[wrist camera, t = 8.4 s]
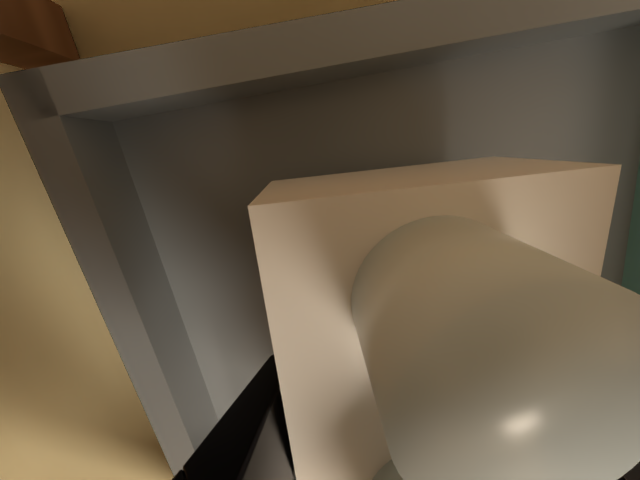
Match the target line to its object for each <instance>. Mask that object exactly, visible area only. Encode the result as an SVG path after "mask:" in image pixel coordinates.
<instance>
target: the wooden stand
mask: <svg viewBox="0 0 640 480" xmlns="http://www.w3.org/2000/svg"><path fill="white" fill-rule="evenodd" d="M74 60H80V57H79V54H78V52H77V49H76V46H75V44H74V41H73V38H72V35H71V33H70V30H69V27H68V24H67V22H66V19H65V16H64V13H63V11H62V8H61V6H60V5H58V4H56V3H54V2H52V1H51V0H0V62H2V63H5V64H9V65H13V66H17V67H20V68H24V69H31V68H36V67H42V66H47V65H53V64H58V63H63V62H69V61H74Z"/></svg>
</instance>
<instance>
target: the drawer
mask: <svg viewBox="0 0 640 480" xmlns="http://www.w3.org/2000/svg"><path fill="white" fill-rule="evenodd" d="M0 89H1V91H2V93H3V95H4V98H5V100H6V102H7V104H8V106H9V109H10V111H11V113H12V115H13V118H14V120H15V122H16V124H17V127H18V129H19V131H20V133H21V136H22V138H23V140H24V142H25V144H26V147H27V149H28V151H29V153H30V156H31V158H32V160H33V162H34V165H35V167H36V169H37V171H38V174H39V176H40V178H41V180H42V182H43V185H44V187H45V189H46V191H47V194H48V196H49V198H50V200H51V203H52V205H53V207H54V209H55V211H56V214H57V216H58V218H59V220H60V223H61V225H62V227H63V229H64V232H65V234H66V236H67V238H68V241H69V243H70V245H71V247H72V249H73V252H74V254H75V256H76V258H77V261H78V263H79V265H80V267H81V270H82V272H83V274H84V276H85V278H86V281H87V283H88V285H89V287H90V290H91V292H92V294H93V296H94V299H95V301H96V303H97V305H98V308H99V310H100V312H101V314H102V316H103V319H104V321H105V323H106V325H107V328H108V330H109V332H110V334H111V337H112V339H113V341H114V343H115V346H116V348H117V350H118V352H119V354H120V357H121V359H122V361H123V363H124V366H125V368H126V370H127V372H128V375H129V377H130V379H131V381H132V383H133V386H134V388H135V390H136V392H137V395H138V397H139V399H140V401H141V404H142V406H143V408H144V410H145V413H146V415H147V417H148V419H149V421H150V424H151V426H152V428H153V430H154V433H155V435H156V437H157V439H158V442H159V444H160V446H161V448H162V450H163V453H164V455H165V457H166V459H167V462H168V464H169V466H170V468H171V471H172V473H173V475H174V476H175V475H176V474H177V473H178V471H179V470H181V469H182V470H183V465H184V464H185V463H186V462H187V460H188V459H189V458H190V456H191V455H192V454H193V453H194V451H195V450H196V449H197V448H198V446H199V445H200V444H201V443H202V441H203V440H204V439H205V438H206V436H207V435H208V434H209V433H210V431H211V430H212V429H213V428H214V426H215V425H216V424H217V422H218V421H219V420H220V419H221V417H222V416H223V415H224V414H225V412H226V411H227V410H228V409H229V407H230V406H231V405H232V404H233V402H234V401H235V400H236V399H237V397H238V396H239V395H240V393H241V392H242V391H243V390H244V388H245V387H246V386H247V385H248V383H249V382H250V381H251V380H252V378H253V377H254V376H255V375H256V373H257V372H258V371H259V370H260V368H261V367H262V366H263V365H264V363H265V362H266V361H267V359H268V358H269V357H270V356H271V355H274V352H273V346H272V340H271V335H270V329H269V323H268V318H267V312H266V307H265V301H264V295H263V290H262V284H261V279H260V273H259V267H258V262H257V256H256V251H255V245H254V239H253V234H252V228H251V222H250V217H249V211H248V205H249V204H250V203H251V202H252V201H253V200H254V199H255V198H256V197H257V196H258V195H259V194H260V193H261V192H262V190H263V189H264V188H265V187H266V186H267V185H268V184H269V183H270V182H271V181H275V180H284V179H293V178H303V177H312V176H321V175H330V174H339V173H348V172H357V171H366V170H375V169H384V168H393V167H402V166H411V165H420V164H430V163H439V162H448V161H457V160H466V159H475V158H484V157H493V156H495V157H510V158H526V159H541V160H557V161H573V162H588V163H604V164H619V165H622V166H621V171H620V177H619V182H618V187H617V193H616V198H615V203H614V208H613V214H612V219H611V224H610V229H609V235H608V240H607V245H606V250H605V256H604V261H603V266H602V272H601V277H602V278H604V279H607V280H609V281H611V282H613V283H615V284H618V285H620V286H622V287H624V288H627V289H629V290H631V291H633V292H635V293H637V294H639V295H640V0H398V1H393V2H387V3H382V4H377V5H371V6H366V7H360V8H355V9H350V10H344V11H339V12H333V13H328V14H323V15H317V16H312V17H306V18H301V19H296V20H290V21H285V22H279V23H274V24H269V25H263V26H258V27H252V28H247V29H242V30H236V31H231V32H225V33H220V34H215V35H209V36H204V37H198V38H193V39H188V40H182V41H177V42H171V43H166V44H161V45H155V46H150V47H144V48H139V49H134V50H128V51H123V52H117V53H112V54H107V55H101V56H96V57H90V58H85V59H80V60H74V61H69V62H63V63H58V64H53V65H47V66H42V67H36V68H31V69H25V70H20V71H15V72H9V73H4V74H0ZM293 480H296V475H295V469H294V478H293Z"/></svg>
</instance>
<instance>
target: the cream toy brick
mask: <svg viewBox="0 0 640 480" xmlns="http://www.w3.org/2000/svg"><path fill="white" fill-rule="evenodd" d="M621 166H622V165H619V164H604V163H588V162H573V161H557V160H541V159H526V158H510V157H495V156H493V157H484V158H475V159H466V160H457V161H448V162H439V163H430V164H420V165H411V166H402V167H393V168H384V169H375V170H366V171H357V172H348V173H339V174H330V175H321V176H312V177H303V178H293V179H284V180H275V181H271V182H270V183H269V184H268V185H267V186H266V187H265V188H264V189H263V190H262V192H261V193H260V194H259V195H258V196H257V197H256V198H255V199H254V200H253V201H252V202H251V203H250V204H249V205H248V211H249V217H250V222H251V228H252V234H253V239H254V245H255V251H256V256H257V262H258V267H259V273H260V279H261V284H262V290H263V295H264V301H265V307H266V312H267V318H268V323H269V329H270V335H271V340H272V346H273V352H274V357H275V363H276V368H277V374H278V380H279V385H280V391H281V396H282V402H283V408H284V413H285V419H286V425H287V430H288V436H289V441H290V447H291V453H292V458H293V464H294V469H295V475H296V480H618V479H619V478H620V477H622V476H623V475H624V474H626V473H627V472H628V471H629V470H631V469H632V468H633V467H634V466H635V465H636V464H637V463H638V462H640V295H639V294H637V293H635V292H633V291H631V290H629V289H627V288H624V287H622V286H620V285H618V284H615V283H613V282H611V281H609V280H607V279H604V278H602V277H601V272H602V266H603V261H604V256H605V250H606V245H607V240H608V235H609V229H610V224H611V219H612V214H613V208H614V203H615V198H616V193H617V187H618V182H619V177H620V171H621Z"/></svg>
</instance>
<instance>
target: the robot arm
mask: <svg viewBox="0 0 640 480" xmlns="http://www.w3.org/2000/svg"><path fill="white" fill-rule="evenodd" d="M293 478H294V464H293V458H292V453H291V447H290V441H289V436H288V430H287V425H286V419H285V413H284V408H283V402H282V396H281V391H280V385H279V380H278V374H277V368H276V363H275V357H274V355H271V356H270V357H269V358H268V359H267V361H266V362H265V363H264V365H263V366H262V367H261V368H260V370H259V371H258V372H257V373H256V375H255V376H254V377H253V378H252V380H251V381H250V382H249V383H248V385H247V386H246V387H245V388H244V390H243V391H242V392H241V393H240V395H239V396H238V397H237V399H236V400H235V401H234V402H233V404H232V405H231V406H230V407H229V409H228V410H227V411H226V412H225V414H224V415H223V416H222V417H221V419H220V420H219V421H218V422H217V424H216V425H215V426H214V428H213V429H212V430H211V431H210V433H209V434H208V435H207V436H206V438H205V439H204V440H203V441H202V443H201V444H200V445H199V446H198V448H197V449H196V450H195V451H194V453H193V454H192V455H191V456H190V458H189V459H188V460H187V462H186V463H185V464H184V465H183V470H182V469H181V470H179V471H178V473H177V474H176V475H175V476H174V478H173V479H172V480H293ZM618 480H640V462H638V463H637V464H636V465H635V466H634V467H633V468H632V469H631V470H629V471H628V472H627V473H626V474H624V475H623V476H622V477H620V478H619V479H618Z"/></svg>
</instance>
